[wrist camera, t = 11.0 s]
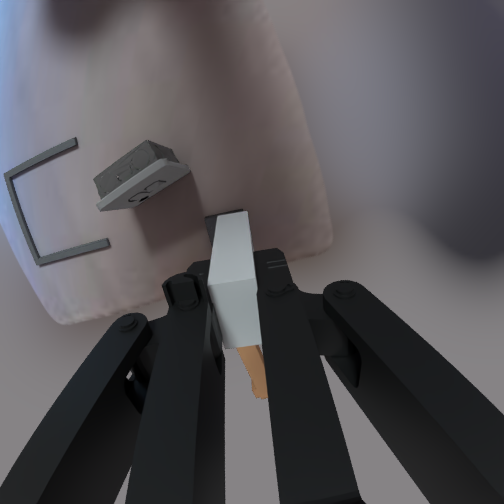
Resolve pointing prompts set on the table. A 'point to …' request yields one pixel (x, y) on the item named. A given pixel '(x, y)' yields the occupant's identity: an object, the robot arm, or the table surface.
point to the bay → (20, 215)
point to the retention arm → (255, 369)
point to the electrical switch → (138, 176)
